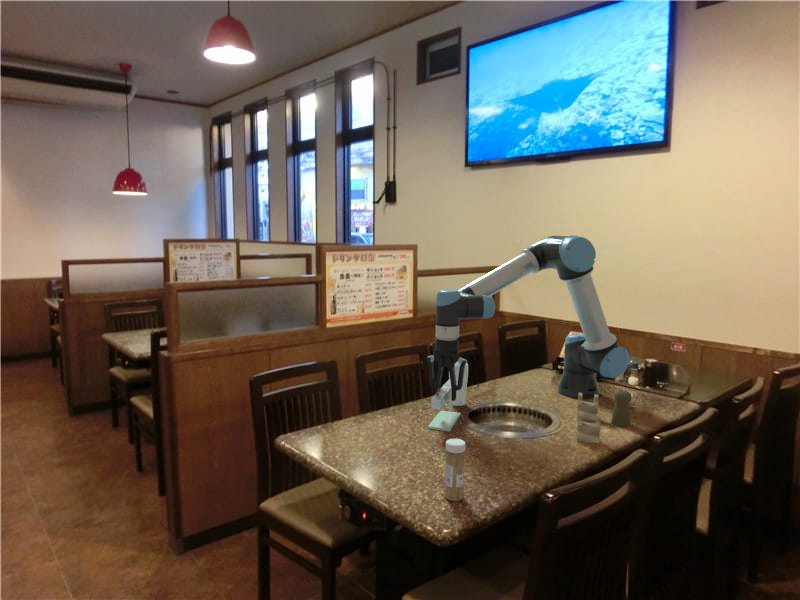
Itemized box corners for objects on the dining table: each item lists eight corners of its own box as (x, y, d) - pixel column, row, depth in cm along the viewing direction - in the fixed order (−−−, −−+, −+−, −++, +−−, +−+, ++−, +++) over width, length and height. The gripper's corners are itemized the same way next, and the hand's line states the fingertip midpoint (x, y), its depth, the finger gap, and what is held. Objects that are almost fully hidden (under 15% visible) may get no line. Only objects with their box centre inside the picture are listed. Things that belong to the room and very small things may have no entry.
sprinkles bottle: (465, 501, 122) (467, 445, 120) (445, 502, 121) (447, 445, 120) (462, 492, 126) (463, 437, 124) (442, 492, 126) (444, 437, 124)
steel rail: (449, 386, 184) (449, 378, 184) (457, 387, 183) (458, 379, 183) (431, 407, 161) (431, 398, 161) (440, 409, 160) (440, 399, 160)
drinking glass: (462, 400, 195) (463, 360, 194) (470, 406, 189) (471, 365, 187) (445, 402, 193) (446, 362, 191) (452, 408, 187) (453, 366, 185)
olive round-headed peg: (632, 428, 170) (635, 394, 169) (612, 426, 171) (615, 393, 170) (628, 421, 176) (630, 389, 175) (609, 420, 177) (611, 388, 176)
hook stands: (577, 415, 181) (578, 392, 180) (596, 417, 179) (598, 394, 178) (576, 441, 159) (578, 415, 158) (599, 443, 157) (600, 417, 156)
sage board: (440, 412, 182) (440, 410, 182) (460, 415, 180) (460, 412, 180) (427, 428, 167) (428, 426, 167) (449, 431, 165) (449, 429, 165)
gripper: (419, 338, 169) (418, 409, 172) (469, 342, 164) (467, 415, 167) (426, 334, 176) (424, 402, 179) (474, 338, 171) (471, 408, 174)
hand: (445, 409), depth 173 cm, fingers closed on steel rail, 3 cm apart
